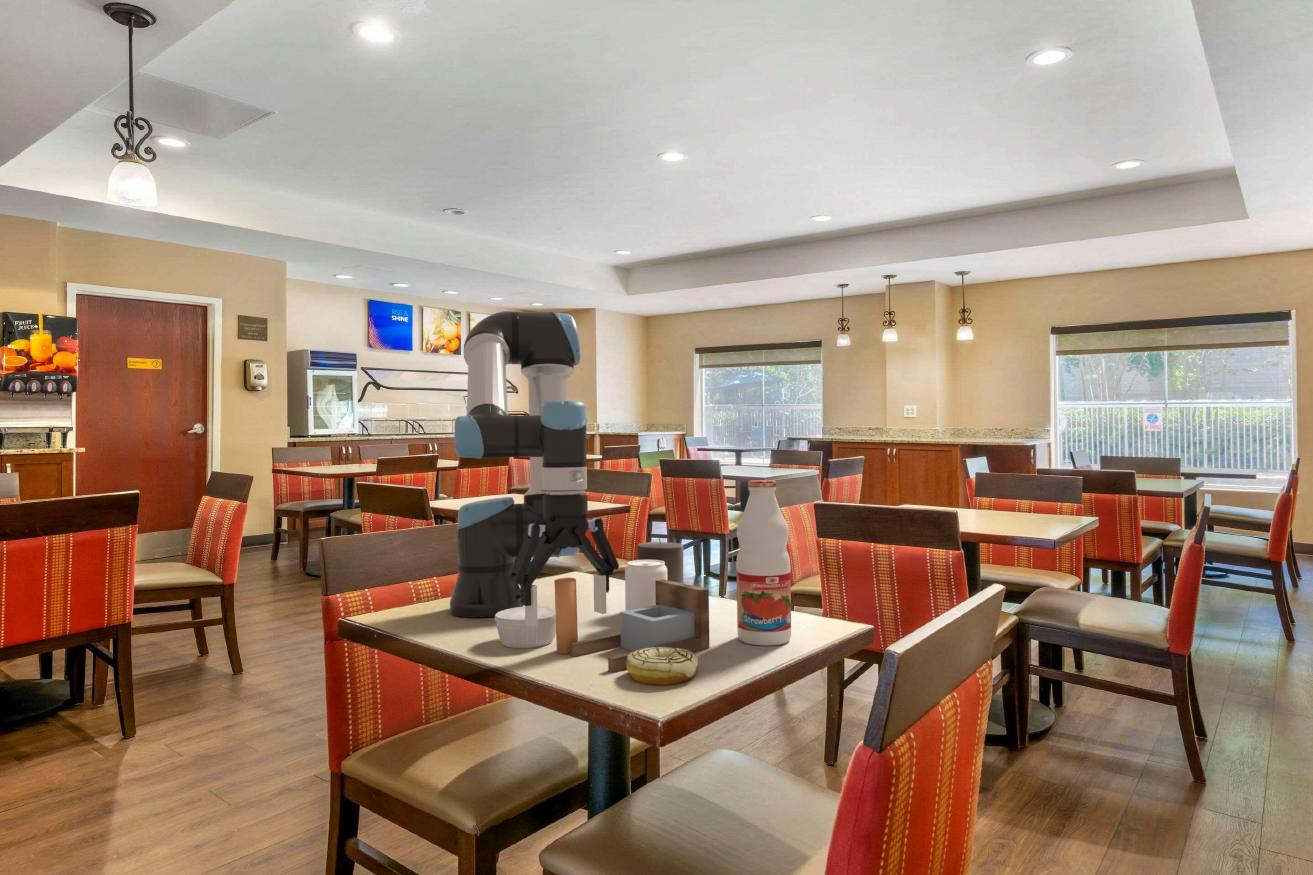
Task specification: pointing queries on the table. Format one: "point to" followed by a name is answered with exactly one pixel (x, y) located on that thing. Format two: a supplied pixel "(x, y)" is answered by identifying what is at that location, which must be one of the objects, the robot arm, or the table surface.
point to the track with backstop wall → (666, 595)
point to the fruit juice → (763, 569)
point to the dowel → (565, 614)
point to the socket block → (655, 626)
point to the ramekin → (526, 627)
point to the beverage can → (642, 582)
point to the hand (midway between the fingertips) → (566, 618)
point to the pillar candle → (664, 557)
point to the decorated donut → (662, 665)
